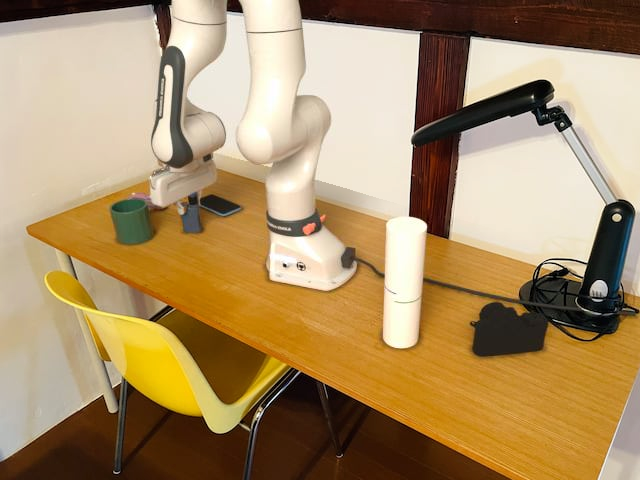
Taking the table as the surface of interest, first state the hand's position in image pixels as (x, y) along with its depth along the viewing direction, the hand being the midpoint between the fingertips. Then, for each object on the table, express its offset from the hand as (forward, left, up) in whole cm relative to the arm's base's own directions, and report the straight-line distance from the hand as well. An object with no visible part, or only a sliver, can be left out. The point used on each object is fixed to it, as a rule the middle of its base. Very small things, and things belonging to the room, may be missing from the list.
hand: (189, 209), depth 142 cm
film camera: (-87, +4, -6) cm, 87 cm away
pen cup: (+11, +10, -6) cm, 16 cm away
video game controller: (+21, -3, -6) cm, 22 cm away
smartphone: (+5, -15, -6) cm, 17 cm away
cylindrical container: (-69, +13, -6) cm, 71 cm away
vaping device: (0, 0, -6) cm, 6 cm away
